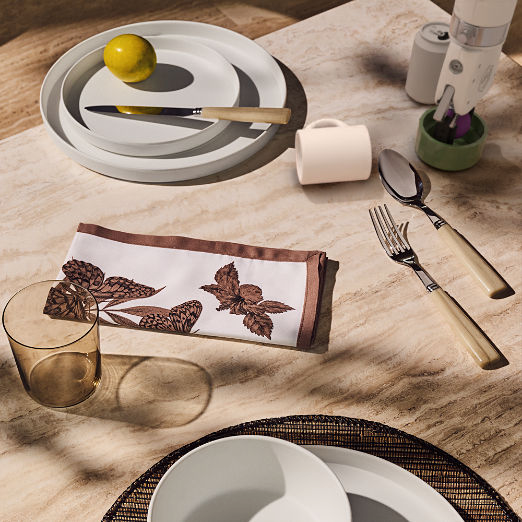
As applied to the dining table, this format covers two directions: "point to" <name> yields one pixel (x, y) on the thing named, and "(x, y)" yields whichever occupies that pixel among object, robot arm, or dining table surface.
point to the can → (427, 61)
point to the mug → (332, 152)
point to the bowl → (450, 156)
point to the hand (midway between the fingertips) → (450, 133)
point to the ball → (461, 124)
